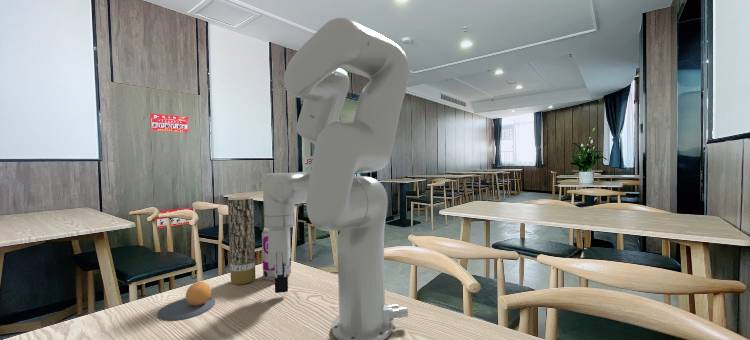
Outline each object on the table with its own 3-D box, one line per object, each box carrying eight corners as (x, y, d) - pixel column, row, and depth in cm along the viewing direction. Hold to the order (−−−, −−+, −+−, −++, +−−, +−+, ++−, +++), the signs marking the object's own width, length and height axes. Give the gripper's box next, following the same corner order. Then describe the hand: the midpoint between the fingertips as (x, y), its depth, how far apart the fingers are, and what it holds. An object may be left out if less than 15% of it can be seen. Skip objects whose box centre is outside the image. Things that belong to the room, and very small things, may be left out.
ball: (211, 276, 81) (188, 282, 80) (203, 283, 76) (179, 290, 75) (216, 296, 81) (194, 303, 80) (209, 305, 76) (185, 312, 75)
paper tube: (239, 276, 97) (236, 195, 96) (259, 277, 96) (257, 195, 95) (225, 285, 90) (222, 198, 89) (247, 286, 89) (245, 198, 88)
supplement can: (283, 281, 92) (281, 230, 92) (257, 280, 94) (256, 230, 93) (295, 271, 100) (294, 224, 100) (271, 270, 102) (270, 224, 101)
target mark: (220, 294, 84) (220, 294, 84) (207, 316, 72) (207, 315, 72) (169, 300, 81) (169, 299, 81) (147, 324, 69) (147, 323, 69)
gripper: (266, 216, 88) (268, 282, 88) (260, 227, 73) (263, 306, 74) (294, 215, 89) (296, 279, 90) (294, 225, 75) (296, 301, 75)
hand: (281, 291), depth 82 cm, fingers closed
